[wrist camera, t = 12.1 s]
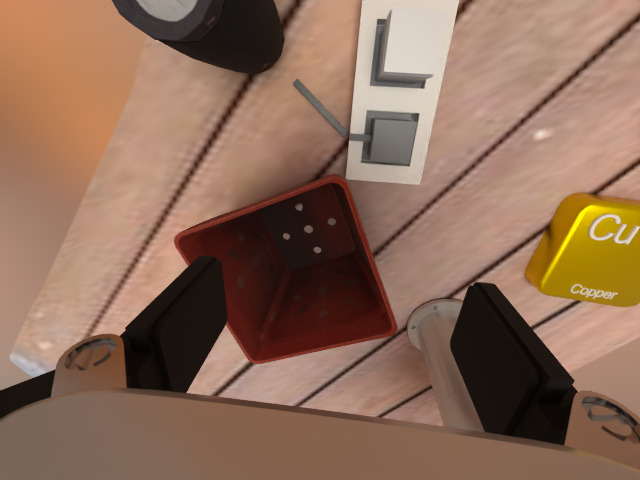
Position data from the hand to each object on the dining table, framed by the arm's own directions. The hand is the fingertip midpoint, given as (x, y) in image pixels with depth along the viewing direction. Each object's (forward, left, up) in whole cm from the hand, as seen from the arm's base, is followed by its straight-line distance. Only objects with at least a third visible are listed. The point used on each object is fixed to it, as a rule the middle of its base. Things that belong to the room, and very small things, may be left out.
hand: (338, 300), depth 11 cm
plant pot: (+5, +11, -33) cm, 35 cm away
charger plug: (-5, -12, -32) cm, 34 cm away
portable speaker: (+13, -14, -32) cm, 38 cm away
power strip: (-1, -8, -32) cm, 33 cm away
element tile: (-38, +10, -33) cm, 51 cm away
